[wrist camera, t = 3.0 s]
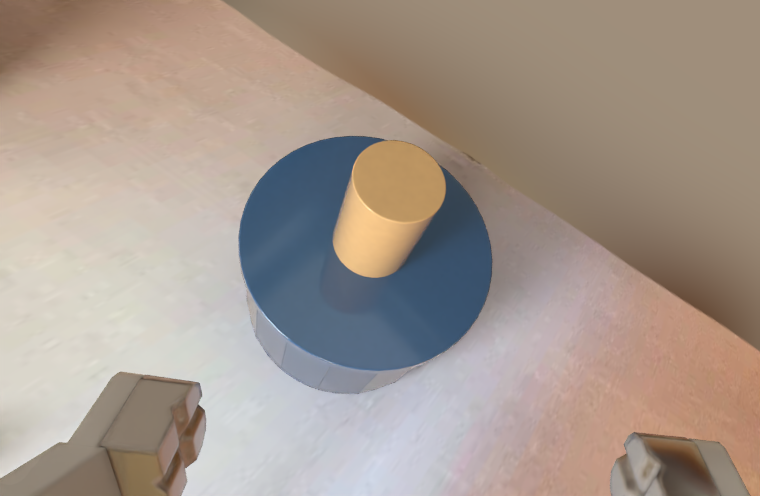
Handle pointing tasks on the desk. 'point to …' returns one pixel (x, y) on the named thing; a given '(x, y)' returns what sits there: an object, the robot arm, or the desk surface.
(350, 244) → the lid
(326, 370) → the pot
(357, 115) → the desk surface
